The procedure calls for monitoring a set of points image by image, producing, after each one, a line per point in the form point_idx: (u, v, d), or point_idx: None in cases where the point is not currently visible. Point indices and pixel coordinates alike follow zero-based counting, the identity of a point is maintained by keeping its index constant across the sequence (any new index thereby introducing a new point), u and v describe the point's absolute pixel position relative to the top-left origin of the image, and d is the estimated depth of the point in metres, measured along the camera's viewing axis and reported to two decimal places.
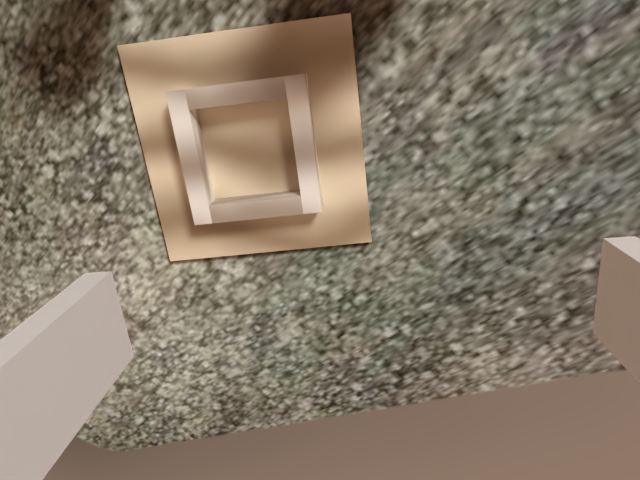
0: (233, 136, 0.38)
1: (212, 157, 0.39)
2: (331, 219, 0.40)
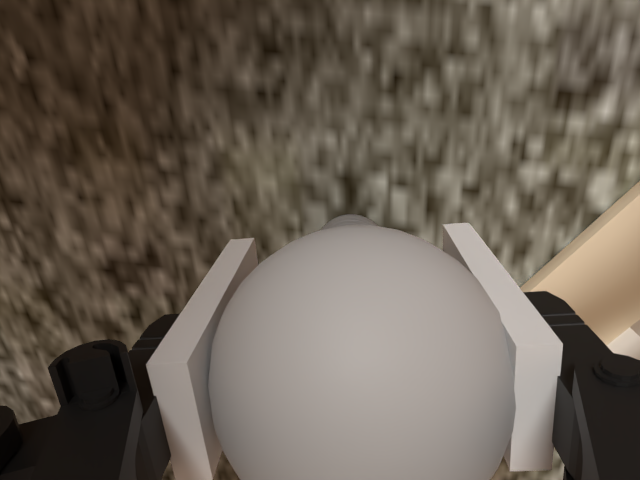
0: None
1: None
2: None
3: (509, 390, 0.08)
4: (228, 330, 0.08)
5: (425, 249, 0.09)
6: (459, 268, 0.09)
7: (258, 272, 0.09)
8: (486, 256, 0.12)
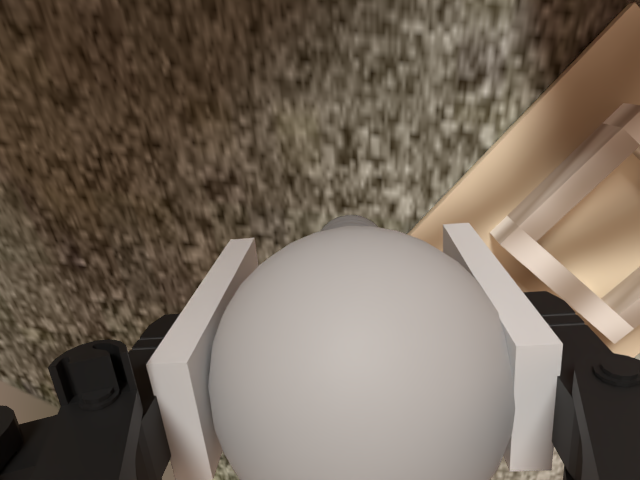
0: (581, 227, 0.30)
1: (570, 263, 0.31)
2: None
3: (508, 391, 0.08)
4: (228, 331, 0.09)
5: (425, 250, 0.09)
6: (459, 269, 0.09)
7: (258, 273, 0.09)
8: (486, 256, 0.12)
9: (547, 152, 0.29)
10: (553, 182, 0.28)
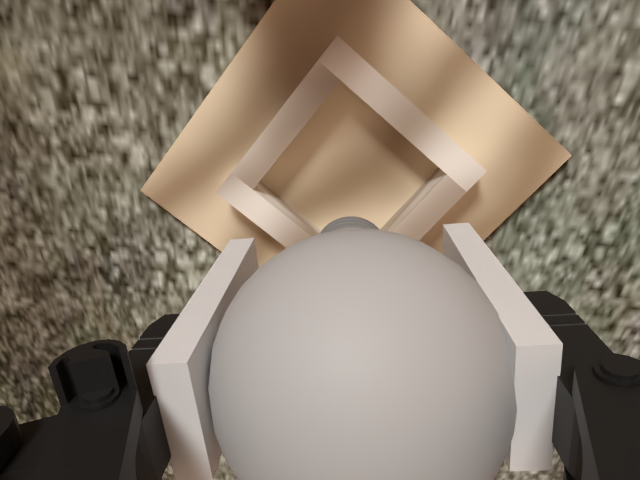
0: (319, 177, 0.28)
1: (316, 217, 0.29)
2: (500, 171, 0.28)
3: (509, 394, 0.08)
4: (228, 335, 0.08)
5: (425, 253, 0.09)
6: (459, 272, 0.09)
7: (258, 276, 0.09)
8: (486, 256, 0.12)
9: (268, 93, 0.27)
10: None
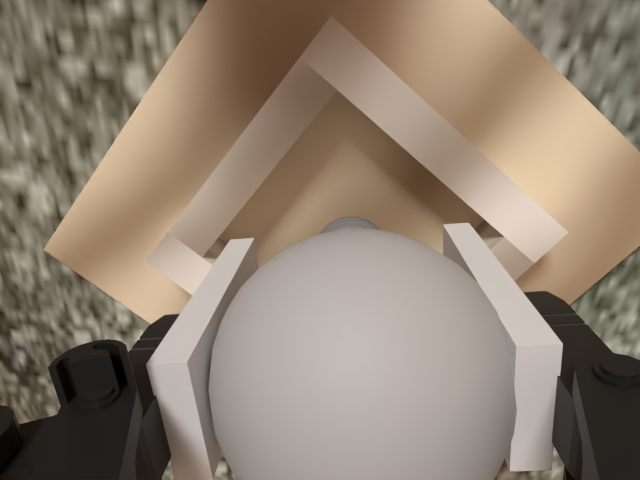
0: (305, 232, 0.19)
1: None
2: (578, 225, 0.18)
3: (509, 394, 0.08)
4: (228, 335, 0.08)
5: (425, 253, 0.09)
6: (459, 272, 0.09)
7: (258, 276, 0.09)
8: (486, 256, 0.12)
9: (227, 109, 0.17)
10: None
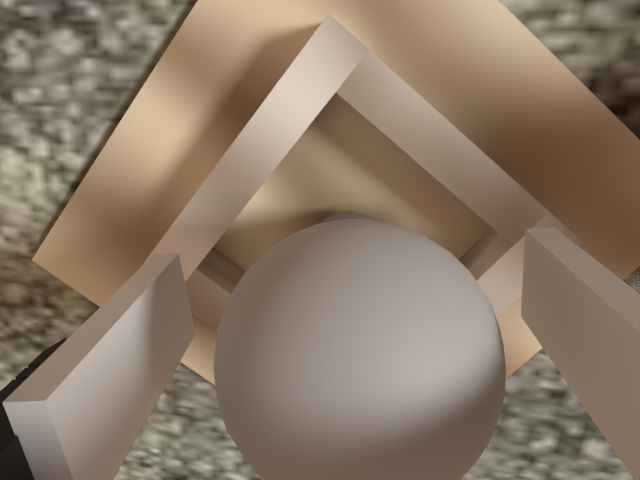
0: (343, 191, 0.17)
1: (275, 185, 0.17)
2: None
3: (497, 372, 0.09)
4: (233, 316, 0.09)
5: (419, 241, 0.09)
6: (451, 259, 0.09)
7: (262, 262, 0.09)
8: (592, 265, 0.11)
9: (484, 110, 0.16)
10: None
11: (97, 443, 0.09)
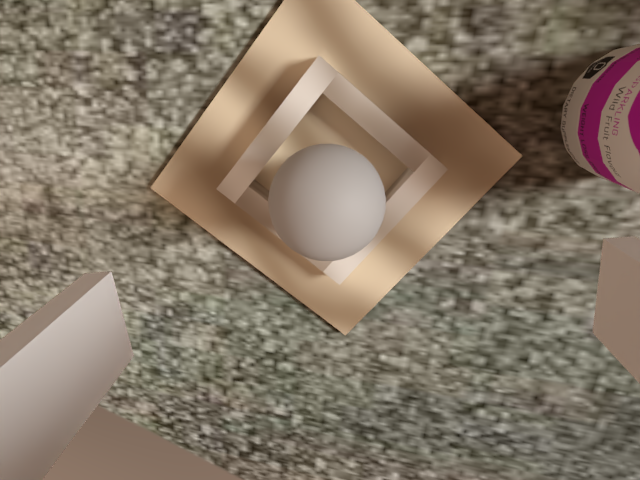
0: None
1: (290, 143, 0.32)
2: (333, 289, 0.35)
3: (376, 195, 0.23)
4: (278, 177, 0.23)
5: (350, 149, 0.24)
6: (362, 157, 0.24)
7: (288, 158, 0.24)
8: None
9: (400, 103, 0.31)
10: None
11: None
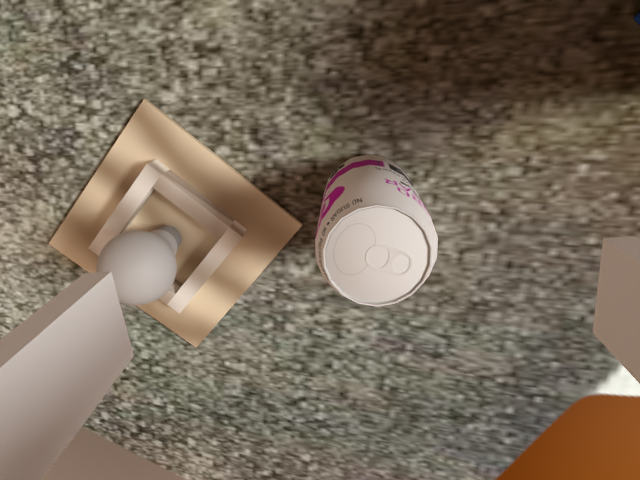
0: (168, 218, 0.46)
1: (142, 215, 0.46)
2: (183, 315, 0.49)
3: (158, 266, 0.37)
4: (100, 253, 0.37)
5: (146, 236, 0.37)
6: (154, 240, 0.38)
7: (109, 241, 0.38)
8: None
9: (214, 189, 0.44)
10: (194, 194, 0.43)
11: None
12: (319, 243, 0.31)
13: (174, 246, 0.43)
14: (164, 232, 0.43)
